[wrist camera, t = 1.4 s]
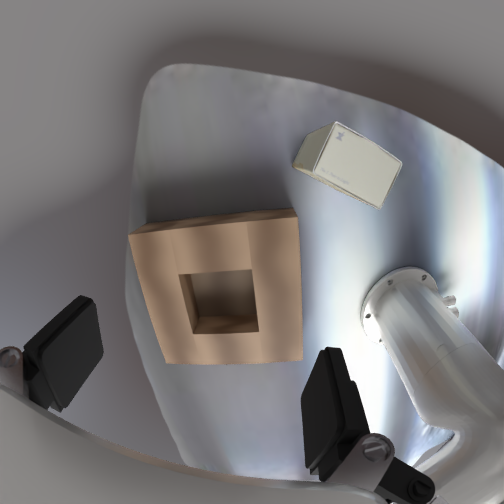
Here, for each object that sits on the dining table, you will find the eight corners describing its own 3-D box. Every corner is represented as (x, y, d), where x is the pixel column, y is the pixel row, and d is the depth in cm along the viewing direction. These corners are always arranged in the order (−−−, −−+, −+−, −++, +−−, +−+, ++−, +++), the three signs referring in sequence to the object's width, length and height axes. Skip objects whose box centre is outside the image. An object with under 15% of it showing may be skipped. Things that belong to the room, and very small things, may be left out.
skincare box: (291, 166, 29) (306, 173, 18) (307, 132, 28) (333, 117, 16) (339, 191, 30) (380, 213, 19) (355, 158, 29) (404, 162, 17)
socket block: (293, 207, 31) (297, 217, 26) (299, 336, 37) (302, 360, 32) (145, 223, 32) (128, 235, 28) (176, 341, 38) (166, 363, 34)
